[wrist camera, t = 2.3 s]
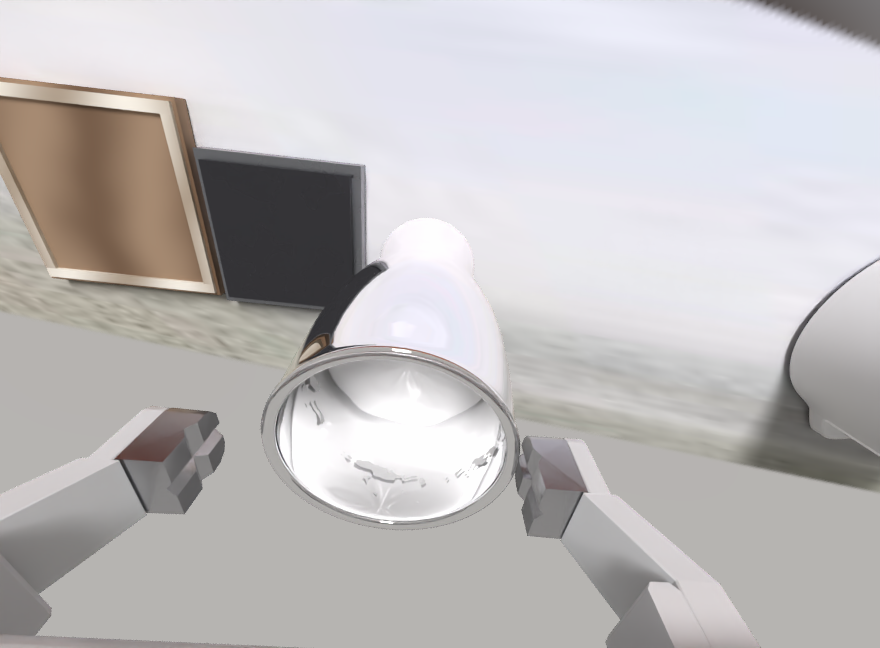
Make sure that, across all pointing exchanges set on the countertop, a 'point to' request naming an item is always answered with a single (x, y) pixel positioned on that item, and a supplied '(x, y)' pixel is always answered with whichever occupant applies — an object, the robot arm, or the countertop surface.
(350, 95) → the countertop surface
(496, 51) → the countertop surface
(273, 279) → the ink pad
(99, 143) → the board
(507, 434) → the beer glass
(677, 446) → the countertop surface
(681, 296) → the countertop surface
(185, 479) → the robot arm
